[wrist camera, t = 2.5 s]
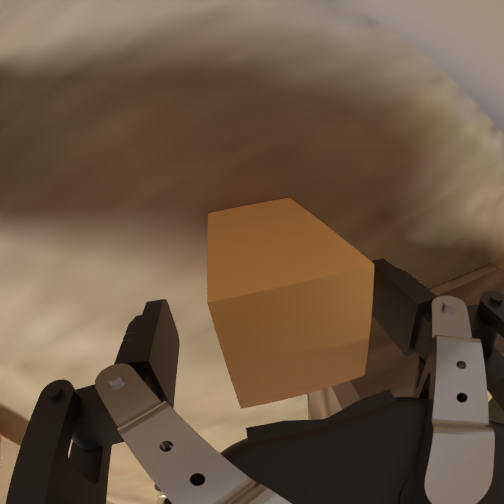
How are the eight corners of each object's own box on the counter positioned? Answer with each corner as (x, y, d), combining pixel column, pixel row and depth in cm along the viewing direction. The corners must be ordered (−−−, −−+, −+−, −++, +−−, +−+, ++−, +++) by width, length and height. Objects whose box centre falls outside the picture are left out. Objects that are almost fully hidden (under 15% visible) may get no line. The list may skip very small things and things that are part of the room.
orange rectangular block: (208, 213, 14) (207, 302, 6) (289, 197, 14) (374, 264, 6) (224, 285, 15) (240, 408, 8) (297, 270, 15) (364, 375, 8)
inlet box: (303, 328, 17) (353, 434, 10) (491, 263, 18) (554, 306, 11) (309, 453, 24) (330, 514, 16) (446, 395, 25) (478, 438, 18)
